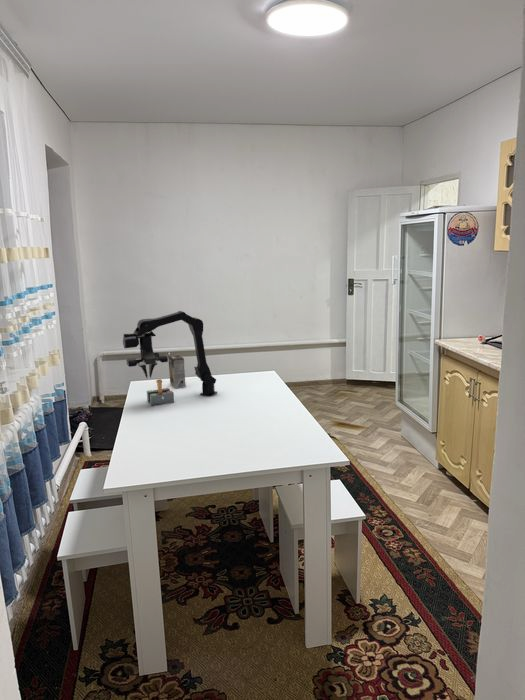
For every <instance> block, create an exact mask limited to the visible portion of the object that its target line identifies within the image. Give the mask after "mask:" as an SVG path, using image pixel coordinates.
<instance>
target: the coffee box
mask: <svg viewBox="0 0 525 700" xmlns="http://www.w3.org/2000/svg"><path fill="white" fill-rule="evenodd" d="M167 358H168V370H169V371H168V372H169V383H170V384H169V385H170V386H171V387H172V388H173V389H181V388H182V389H183V388H186V371H185V358H184V357H183V356H181V355H179V354H178V355H168V356H167Z"/></svg>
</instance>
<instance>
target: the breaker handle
mask: <svg viewBox="0 0 525 700" xmlns="http://www.w3.org/2000/svg"><path fill="white" fill-rule="evenodd" d="M155 381H156V385H157V390H158V393H162V389H163V386H162V385H163V384H162V383H163V380H162V379H156V380H155Z"/></svg>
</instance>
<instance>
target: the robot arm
mask: <svg viewBox="0 0 525 700" xmlns="http://www.w3.org/2000/svg"><path fill="white" fill-rule="evenodd" d="M179 321H181V322H182V321H183V322H184V323H186V324H188V328H189V331H190V332H191V335H192V337H193V342H194V347H195V354H196V360H197V361H196V362H197V364H196V366H194V371H195V376H196V377H198V378H199V379H200V381H201V382H202V383H201V385H202V387H201V388H202V389H201V391H202V392H201V393H200V395H201V396H206V397H207V396H208V397H212V396H213V395H216V394H218V391H215V388H216V387H215V384H216V382H217V379H216V378H215V377H214V376H213V375H212V373H211V369H210V367H209V365H208V363H207V359H206V351H205V345H204V339H203V333H204V322H203V320H202V319H200V318H198V317H194V316H191V315H189V314H188V313H186V312H184V311H182V310H179V311H177V312H173V313H170V314H169V313H168V314H166V315H163V316H160V317H156V318H155V317H154V318H142V319H140V320H138V321H137V324H136V328H135V330H134V331H133V333H123V338H122V345H123V348H124V349H132V348H138V346H139V351H140V358H139V359H136V358H135V357H131V358H127V359H126V366H128V367H136V366H138V367H139V368H141V370H142V371H143V374H144V376H145V378H146V379H148V374H149V378H152V376H153V375H152V374H153V372H154V371H153V370H154V368H155V367H156V366H157V365H158V362H160V363H169V360H168V356H167V355H165V354H164V353H163V354H160V353H159V352H154V349H153V338H152V337H156V333H154V332H153V331H155V330H156V329H157V328H159V327H162V326H164V325H169V324H172V323H175V322H179ZM147 365H148V371H147Z"/></svg>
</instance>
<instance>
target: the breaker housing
mask: <svg viewBox="0 0 525 700" xmlns="http://www.w3.org/2000/svg"><path fill="white" fill-rule="evenodd" d="M146 401H147V402H148V403H149V405H150V404H151V405H152V406H151V405H150V406H151V407H156V406H161V405H167V404H168V405H169V404H174V403H175V394H174V392H173V391H172V390H171V389H170V388H169V387H166V388H165V387H164V388H163V387H162V393H158V389H153V390H152V389H151V390H147V391H146ZM155 405H156V406H155Z"/></svg>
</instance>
